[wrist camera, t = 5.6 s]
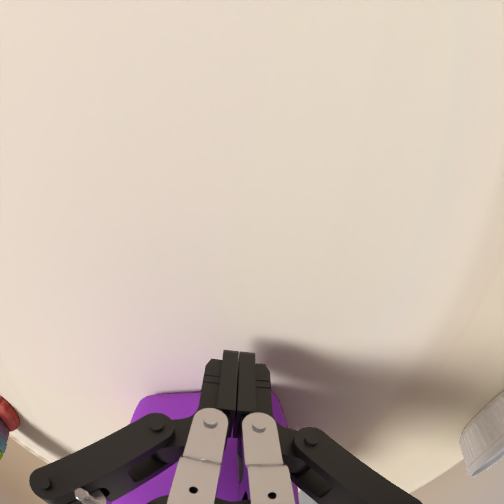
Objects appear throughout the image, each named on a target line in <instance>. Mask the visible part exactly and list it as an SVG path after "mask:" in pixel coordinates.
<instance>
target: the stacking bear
mask: <svg viewBox="0 0 504 504" xmlns="http://www.w3.org/2000/svg"><path fill="white" fill-rule="evenodd" d="M19 424H20V421H19V418H18V416H17V414H16V412H15V410H14V409H13V408H12V407H11V405H10V404H9V403H8V402H7V401H6V400H4V399H3V398H2V397H1V396H0V459H1V458H2V456H3V454H2V453H4V452H5V449H6V446H7V443H6V442H7V440H8V436H9V431H10V432H11V431H14V430H15V429H17V428H18V426H19Z"/></svg>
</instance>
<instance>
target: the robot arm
mask: <svg viewBox="0 0 504 504" xmlns="http://www.w3.org/2000/svg"><path fill="white" fill-rule="evenodd" d="M238 356H239V360H238ZM232 428H233V436H232V438H237V449H236V463H237V480H238V492H237V501H234V502H230V501H226V500H223V499H220V498H216V496H217V490H218V484H219V478H220V472H221V467H222V461H223V455H224V451H225V450H226V445H227V439H228V438H231V434H232ZM176 462H178V465H177V469H176V472H175V476H174V479H173V483H172V486H171V490H170V494H169V495H165V496H161V497H158V498H156V499H153V500H151V501H150V502H148V503H147V504H295V500H294V494H293V489H292V484H291V481H292V482H293V483H294V484H295V485H297V486H298V487H299V488H300V489H301V490H302V491H303V492H305V493H306V494H307V495H308V496H309V497H310V498H312V499H313V500H314V501H315V502H317V503H318V504H422V503H421V502H420V501H419V500H418V499H416V498H415V497H413V496H411V495H410V494H408V493H407V492H405V491H404V490H402V489H400V488H399V487H397V486H396V485H394V484H393V483H391V482H390V481H388V480H387V479H385V478H384V477H382V476H381V475H380V474H378V473H377V472H375V471H374V470H372V469H371V468H370V467H368V466H367V465H365V464H364V463H363V462H361V461H360V460H359V459H357V458H356V457H355V456H353V455H352V454H351V453H349V452H348V451H347V450H345V449H344V448H343V447H342V446H340V445H339V444H338V443H336V442H335V441H334V440H333V439H331V438H330V437H329V436H328V435H326V434H325V433H324V432H323V431H321V430H319V429H317V428H313V427H307V428H303V429H301V430H299V431H296V430H292V429H288V428H285V427H283V426H281V425H280V424H279V423H277V421H276V420H275V419H274V417H273V411H272V397H271V382H270V372H269V370H268V368H267V367H266V365H265V364H255V353H250V352H240V353H239V351H230V350H224V352H223V360H217V359H211V360H210V361H209V362H208V364H207V365H206V367H205V373H204V378H203V384H202V390H201V395H200V401H199V406H198V409H197V411H196V412H195V413H194V414H193V415H192V416H190V417H188V418H184V419H175V420H171V419H170V418H169V417H168V416H166V415H165V414H162V413H150V414H147V415H145V416H144V417H142V418H140V419H138V420H136V421H135V422H133V423H131V424H129V425H128V426H126V427H124V428H122V429H120V430H118V431H116V432H115V433H113V434H111V435H109V436H107V437H105V438H103V439H101V440H99V441H97V442H95V443H93V444H91V445H89V446H87V447H85V448H83V449H81V450H79V451H77V452H75V453H73V454H70V455H68V456H66V457H64V458H62V459H59V460H57V461H55V462H53V463H50V464H48V465H46V466H43V467H41V468H38V469H36V470H35V471H33V473H32V474H31V475H30V486H31V488H32V490H33V492H34V493H35V494H36V495H37V496H39V497H40V498H42V499H43V500H44V501H45V502H46V503H48V504H112V503H111V502H113V501H115V500H117V499H118V498H120V497H122V496H124V495H126V494H127V493H129V492H131V491H133V490H134V489H136V488H138V487H139V486H141V485H143V484H144V483H146V482H147V481H149V480H151V479H152V478H154V477H155V476H157V475H158V474H160V473H162V472H163V471H165V470H166V469H168V468H169V467H171V466H172V465H173V464H175V463H176Z"/></svg>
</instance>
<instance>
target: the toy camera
mask: <svg viewBox="0 0 504 504" xmlns="http://www.w3.org/2000/svg"><path fill="white" fill-rule="evenodd" d="M200 395H201V392H196V393H175V394H157V395H150V396H147V397H145V398H143V399H142V400H141V401H140V402H139V404H138V406H137V408H136V410H135V412H134V414H133V417H132V420H131V422H130V424H131V423H133V422H135V421H136V420H138V419H140V418H142V417H144V416H145V415H147V414H150V413H162V414H165V415H166V416H168V417H169V418H170V419H171V420H175V419H184V418H188V417H190V416H192V415H193V414H194V413H195V412H196V411H197V409H198V406H199V401H200ZM271 397H272V411H273V417H274V419H275V420H276V421H277V423H279V424H280V425H281V426H283V427H285V428H287V424H286V420H285V416H284V413H283V410H282V407H281V405H280V402H279V400H278V399H277V397H276V396H275V394H274V393H273V392H272V391H271ZM232 436H233V428H232V434H231V438H228V439H227V445H226V450H225V451H224V455H223V461H222V467H221V472H220V478H219V484H218V490H217V496H216V498H220V499H223V500H226V501H230V502H234V501H237V492H238V480H237V463H236V449H237V438H232ZM177 465H178V462H176V463H175V464H173V465H172V466H171V467H169V468H168V469H166V470H165V471H163V472H162V473H160V474H158V475H157V476H155V477H154V478H152V479H151V480H149V481H147V482H146V483H144V484H143V485H141V486H139V487H138V488H136V489H134V490H133V491H131V492H129V493H127V494H126V495H124V496H122V497H120V498H118V499H117V500H115V501H113V502H111V503H112V504H147V503H148V502H150V501H151V500H153V499H156V498H158V497H161V496H165V495H169V494H170V490H171V486H172V483H173V479H174V476H175V472H176V469H177ZM291 484H292V489H293V494H294V500H295V504H299V496H298V487H297V485H295V484H294V483H293V482H292V481H291Z"/></svg>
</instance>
